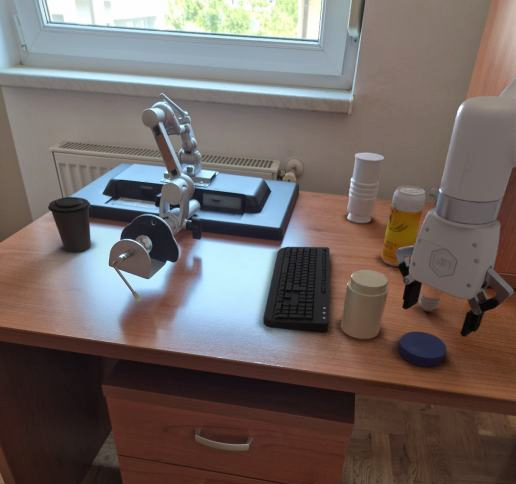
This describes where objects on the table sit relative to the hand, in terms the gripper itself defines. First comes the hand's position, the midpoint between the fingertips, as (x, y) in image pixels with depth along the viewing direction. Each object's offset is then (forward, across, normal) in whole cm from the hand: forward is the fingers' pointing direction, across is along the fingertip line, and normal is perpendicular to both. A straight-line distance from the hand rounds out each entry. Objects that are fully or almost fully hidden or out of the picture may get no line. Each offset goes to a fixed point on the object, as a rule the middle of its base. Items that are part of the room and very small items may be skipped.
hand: (437, 318), depth 71 cm
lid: (+5, -1, -1) cm, 5 cm away
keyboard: (+6, -28, -1) cm, 28 cm away
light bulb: (+7, -7, +11) cm, 15 cm away
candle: (+7, -43, +36) cm, 56 cm away
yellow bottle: (+7, -23, +23) cm, 33 cm away
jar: (+6, -11, -3) cm, 13 cm away
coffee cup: (+4, -69, -26) cm, 73 cm away
